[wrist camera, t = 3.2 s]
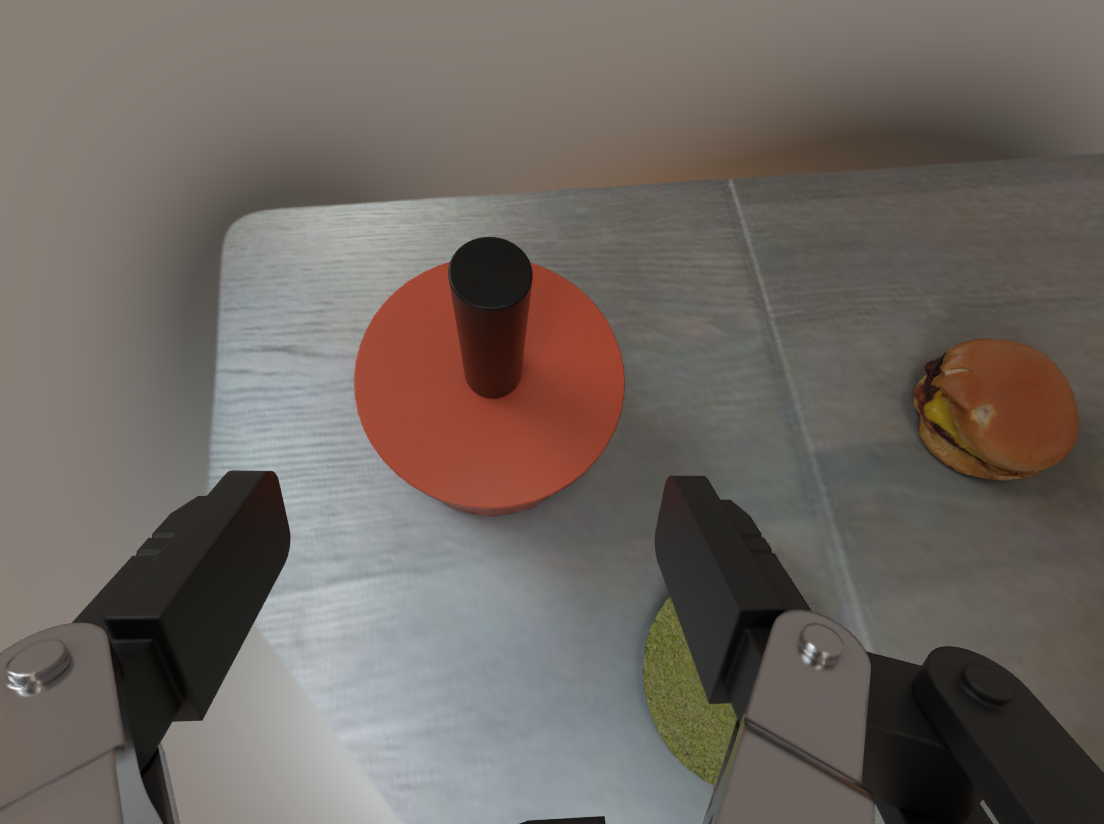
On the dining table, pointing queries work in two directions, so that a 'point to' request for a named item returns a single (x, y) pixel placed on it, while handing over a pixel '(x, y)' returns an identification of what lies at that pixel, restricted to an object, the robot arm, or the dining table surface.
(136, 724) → the robot arm
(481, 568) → the dining table surface
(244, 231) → the dining table surface
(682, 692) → the mat
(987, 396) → the burger
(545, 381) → the cooker lid
